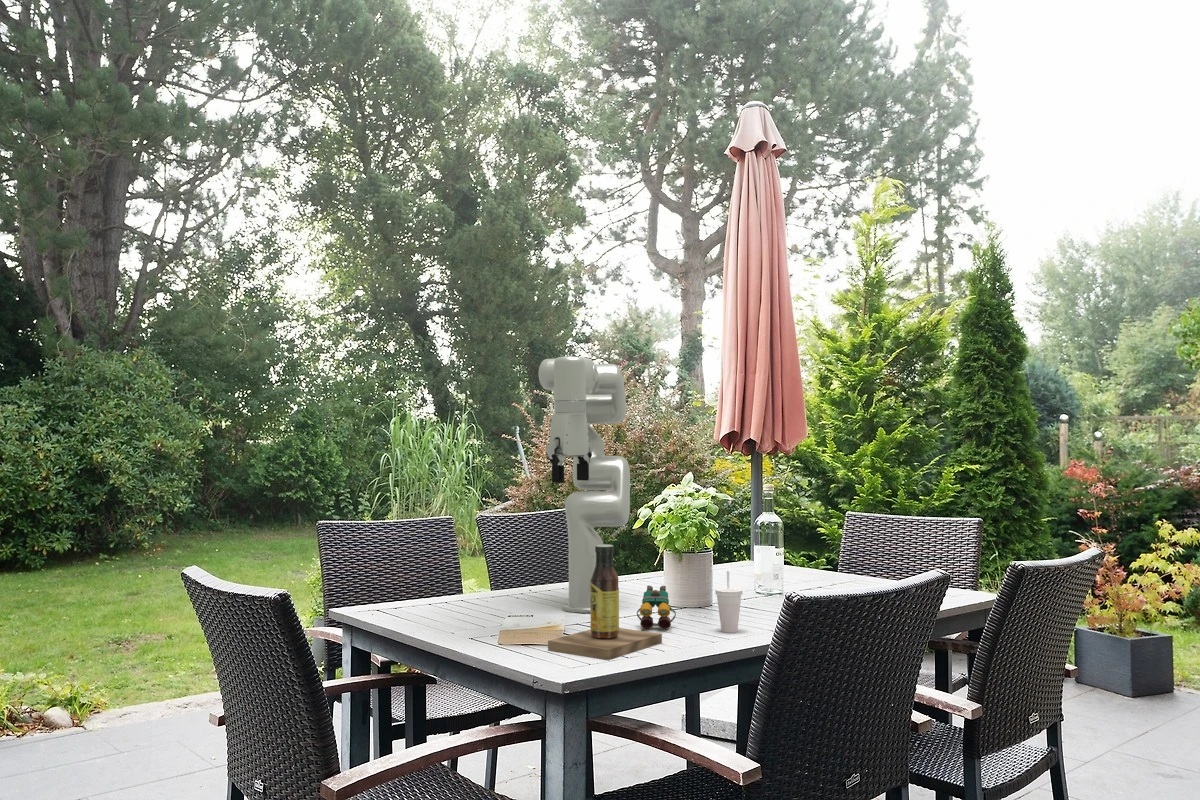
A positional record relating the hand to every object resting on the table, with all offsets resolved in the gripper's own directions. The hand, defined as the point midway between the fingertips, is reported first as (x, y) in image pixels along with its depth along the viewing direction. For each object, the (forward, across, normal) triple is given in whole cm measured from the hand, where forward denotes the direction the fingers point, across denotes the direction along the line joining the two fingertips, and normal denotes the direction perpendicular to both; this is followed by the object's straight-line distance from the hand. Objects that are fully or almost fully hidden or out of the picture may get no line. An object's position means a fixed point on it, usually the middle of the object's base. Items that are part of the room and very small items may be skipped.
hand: (570, 481), depth 213 cm
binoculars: (+36, -14, +14) cm, 41 cm away
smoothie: (+36, -21, +30) cm, 51 cm away
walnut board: (+35, +9, +16) cm, 39 cm away
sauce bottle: (+33, +9, +15) cm, 37 cm away
